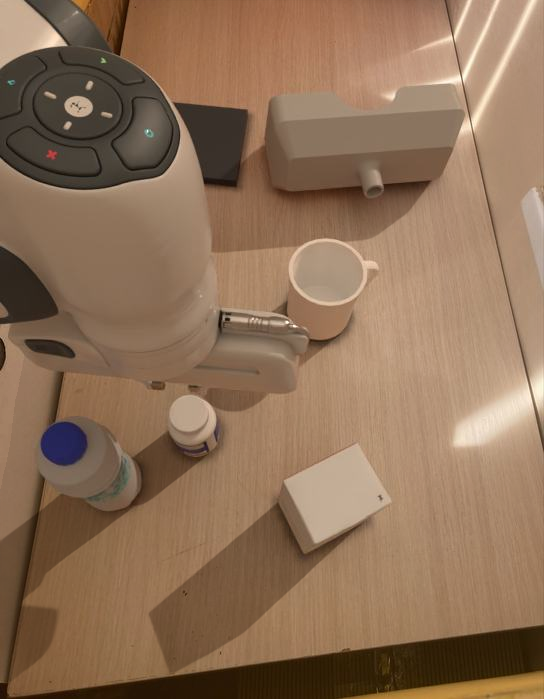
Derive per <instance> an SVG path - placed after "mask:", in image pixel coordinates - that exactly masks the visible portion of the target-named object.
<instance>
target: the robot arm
mask: <svg viewBox="0 0 544 699" xmlns="http://www.w3.org/2000/svg"><path fill="white" fill-rule="evenodd" d="M112 49H113V48H112V47H111V45H110V44H109V42H108V40H107V38H106V36H105V35H104V33H103V32H102V31H101V29H100V28H99V27H98V25H97V24H96V23H95V22H94V20H93V19H92V18H91V17H90V16H89V15H88V14H87V13H86V11H84V10H83V9H82V8H81V7H80V6H79V5H78V4H77V3H75V1H73V0H0V325H9V327H8V333H7V338H8V340H9V342H10V343H12V344H13V345H14V346H15V347H17V348H18V349H19V350H20V351H21V352H22V354H23V355H24V356H25V357H26V358H27V359H28V360H29V361H31V363H33V364H34V365H35V366H37V367H39V368H42V369H45V370H48V371H51V372H59V373H60V372H61V373H72V374H82V375H89V376H90V375H91V376H99V377H110V378H119V379H130V380H134V381H137V382H139V383H141V384H144V386H145V387H146V389H147V390H153V391H162V392H163V391H165V389H166V386H167V384H177V385H179V384H180V385H187V390H188V391H189V394H192V395H193V394H194V395H203V396H207V395H208V390H209V389H212V388H215V389H216V388H217V389H226V390H234V391H235V390H236V391H246V392H255V393H256V392H257V393H265V394H274V395H287V394H289V393H293V392H294V391H296V389H297V387H298V378H299V377H298V376H299V367H300V366H299V365H300V355H303V354H304V353H306V351H307V349H308V348H309V344H310V341H311V340H310V335H309V331H308V329H307V328H305V327H300V326H297V325H295V324H294V323H293V321H292V320H291V319H289V318H288V316H286V315H285V314H281V313H277V312H274V311H273V312H272V311H267V310H266V311H264V310H256V309H245V308H238V307H237V308H235V307H225V306H221V299H220V297H221V296H220V289H219V280H218V273H217V267H216V265H215V262H214V259H213V257H212V255H211V254H212V247H213V230H212V222H211V215H210V209H209V208H210V207H209V203H208V197H207V192H206V186H205V184H204V182H203V177H202V173H201V168H200V165H199V161H198V158H197V154H196V151H195V148H194V144H193V142H192V139H191V137H190V134H189V132H188V129H187V127H186V125H185V123H184V121H183V120H182V118H181V116H180V114H179V112H178V110H177V109H176V107H175V106H174V104H173V103H172V102H173V101H172V100H171V98H170V97H169V96H168V94H167V93H166V91H165V90H164V89H163V88H162V87H161V85H159V83H158V82H157V81H156V80H155V79H154V77H152V76H151V75H150V74H149V73H148V72H146V71H145V70H144V69H142V68H141V67H139V66H138V65H137V64H135V63H134V62H132V61H130V60H128V59H127V58H123V57H122V56H120V55H117V54H115V53H114V52H113V50H112ZM166 383H167V384H166Z"/></svg>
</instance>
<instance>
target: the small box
mask: <svg viewBox="0 0 544 699" xmlns="http://www.w3.org/2000/svg"><path fill="white" fill-rule="evenodd" d="M277 503H278V505H279V507H280V509H281V511H282V513H283V516H284V518H285V519H286V521H287V523H288V525H289V527H290V529H291V532H292V533H293V536H294V537H295V540H296V541H297V543H298V546H299V548H300V549H301V552H302V553H303V554H304V555H306V554H308V553H310V552H313V551H314V550H316V549H318V548H320V547H321V546H323V545H325V544H326V543H327V544H328V542H331V541H332V540H334V539H336V538H337V537H340V536H341V535H344V534H345V533H347V532H348V531H350V530H352V529H354V528H355V527H357V526H359V525H360V524H363V523H364V522H365V521H367V520H368V519H370V518H371V517H372V516H374V515H376V514H377V513H379V512H380V511H382V510H383V509H385V508H388V506H390V505H392V504H393V500H392V498H391V496H390V495H389V494H388V492H387V490H386V489H385V487H384V485H383V483H382V482H381V480H380V479H379V477H378V476H377V474H376V472H375V470H374V468H373V467H372V465H371V464H370V462H369V460H368V458H367V456H366V454H365V453H364V451H363V450H362V448H361V445H360V444H359V443H358V442H354V443H352V444H350V445H348V446H346V447H344V448H343V449H340V450H338V451H336V452H334V453H332V454H331V455H328V456H327V457H324V458H323V459H321V460H319V461H316V462H315V463H313V464H311V465H309V466H307V467H305V468H303V469H302V470H299V471H298V472H296V473H293V474H292V475H290V476H287V477H286V478H284V479H283V480H282V484H281V488H280V492H279V497H278V501H277Z"/></svg>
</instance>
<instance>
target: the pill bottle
mask: <svg viewBox="0 0 544 699" xmlns="http://www.w3.org/2000/svg"><path fill="white" fill-rule="evenodd" d="M217 418H218V417H217V414H216V412H215V410H214V408H213V406H212V405H211V404H210V403H209V402H208V401H206V400H204V399H202V398H201V397H199V396H197V395H195V394H194V395H193V394H185V395H182V396H179V397H178V398H176V399H175V400H174V401H173V402H172V404H171V405H170V408H169V410H168V414H167V418H166V426H167V430H168V433H169V435H170V438H172V440H173V442H174V444H175V445H176V447H177V449H178V450H179V451H180V452H181V453H182V454H184V455H186V456H188V457H193V458H200V457H204V456H206V455H207V454H210V453H211V452H213V450H214V449H216V447H217V445H218V444H219V440H220V436H221V434H220V432H221V431H220V426H219V422H218V419H217Z"/></svg>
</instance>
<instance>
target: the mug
mask: <svg viewBox="0 0 544 699" xmlns="http://www.w3.org/2000/svg"><path fill="white" fill-rule="evenodd" d="M379 271H380V266H379V264H378V263H377V262H376V261H375V260H364V259H363V257H362V255H361V254H360V253H359V251H358V250H356V249H355V248H354V247H353V246H352V245H349V244H348V243H347V242H344V241H341V240H338V239H335V238H328V237H327V238H326V237H325V238H315V239H313V240H309V241H307V242H305V243H303V244H302V245H301V246H299V247H298V248H297V249H296V250H295V251H294V253H293V254H292V256H291V258H290V260H289V263H288V293H287V294H288V296H287V307H286V315H287V316H286V317H288V318H289V319H291V320H292V321H293V323H294V324H295V325H297V326H300V327H305V328H307V329H308V331H309V335H310V340H309V341H316V342H325V341H329V340H332V339H335V338H336V337H338V336H339V335H340V334H342V332H343V331H344V330H345V329H346V328H347V325H348V323H349V320H350V318H351V315H352V313H353V311H354V308H355V306H356V303H357V301H358V299H359V298H360V296H361V294H362V292H363V291H364V290H365V289H366V288H367V287H368V286H369V284H370V283H371V282H372V281H373V280H374V278H376V276H377V275H378V274H379Z"/></svg>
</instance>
